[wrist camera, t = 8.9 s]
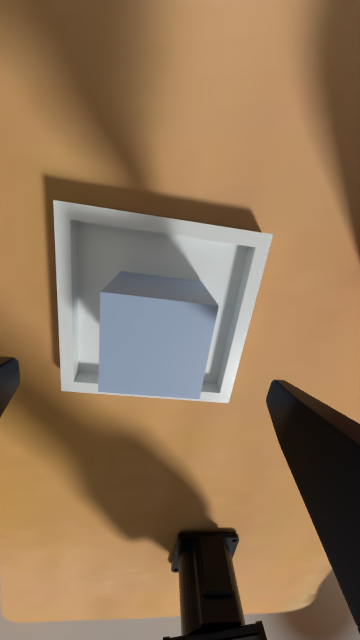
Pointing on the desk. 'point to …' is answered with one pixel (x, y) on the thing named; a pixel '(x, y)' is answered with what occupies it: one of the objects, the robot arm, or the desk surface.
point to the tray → (160, 260)
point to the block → (154, 335)
